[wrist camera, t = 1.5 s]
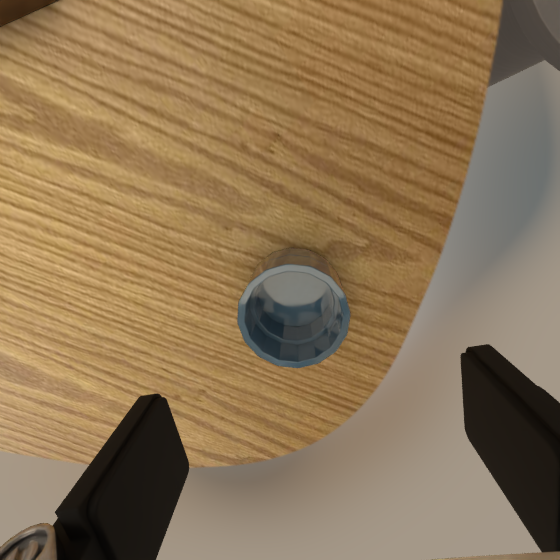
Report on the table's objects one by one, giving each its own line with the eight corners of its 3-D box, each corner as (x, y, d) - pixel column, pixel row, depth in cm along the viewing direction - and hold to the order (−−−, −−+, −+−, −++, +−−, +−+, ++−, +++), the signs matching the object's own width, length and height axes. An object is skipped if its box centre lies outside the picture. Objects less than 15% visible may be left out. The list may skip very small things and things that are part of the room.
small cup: (326, 235, 26) (333, 250, 20) (349, 319, 28) (361, 353, 22) (237, 261, 27) (221, 282, 21) (265, 341, 29) (258, 378, 23)
